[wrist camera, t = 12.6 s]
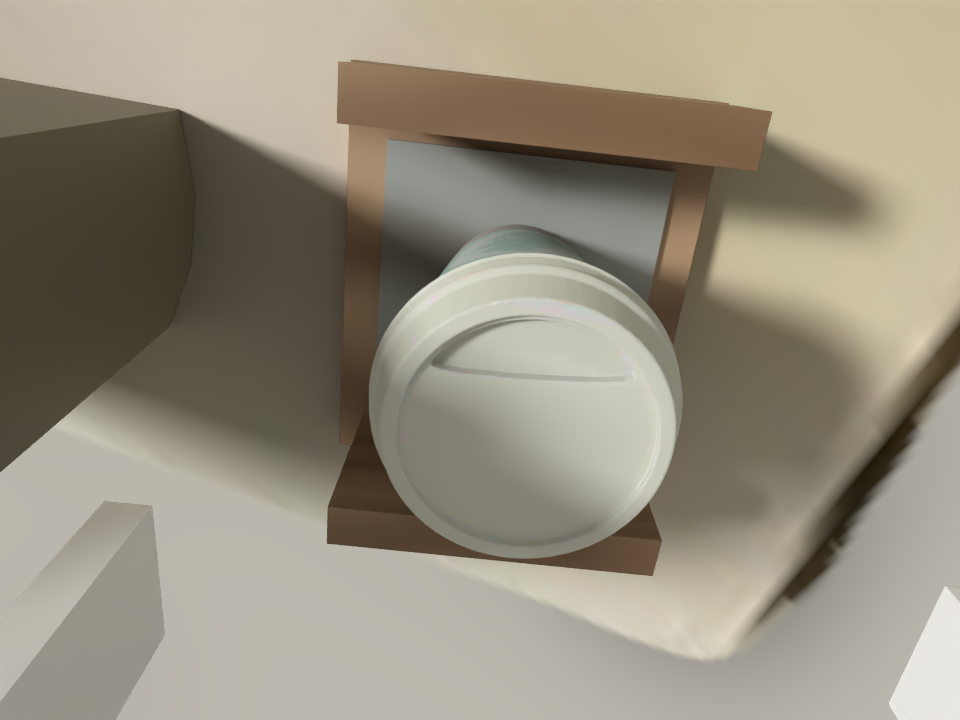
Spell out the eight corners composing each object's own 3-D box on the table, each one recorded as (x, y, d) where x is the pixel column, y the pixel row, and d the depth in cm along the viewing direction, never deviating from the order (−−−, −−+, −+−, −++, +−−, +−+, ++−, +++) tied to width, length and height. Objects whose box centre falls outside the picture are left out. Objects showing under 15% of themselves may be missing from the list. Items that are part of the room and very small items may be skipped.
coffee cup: (662, 272, 28) (774, 407, 17) (532, 422, 31) (555, 624, 19) (491, 141, 26) (490, 197, 15) (370, 315, 29) (293, 470, 18)
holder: (357, 60, 26) (301, 56, 19) (719, 102, 27) (807, 115, 19) (344, 431, 33) (299, 540, 25) (637, 461, 33) (679, 578, 25)
